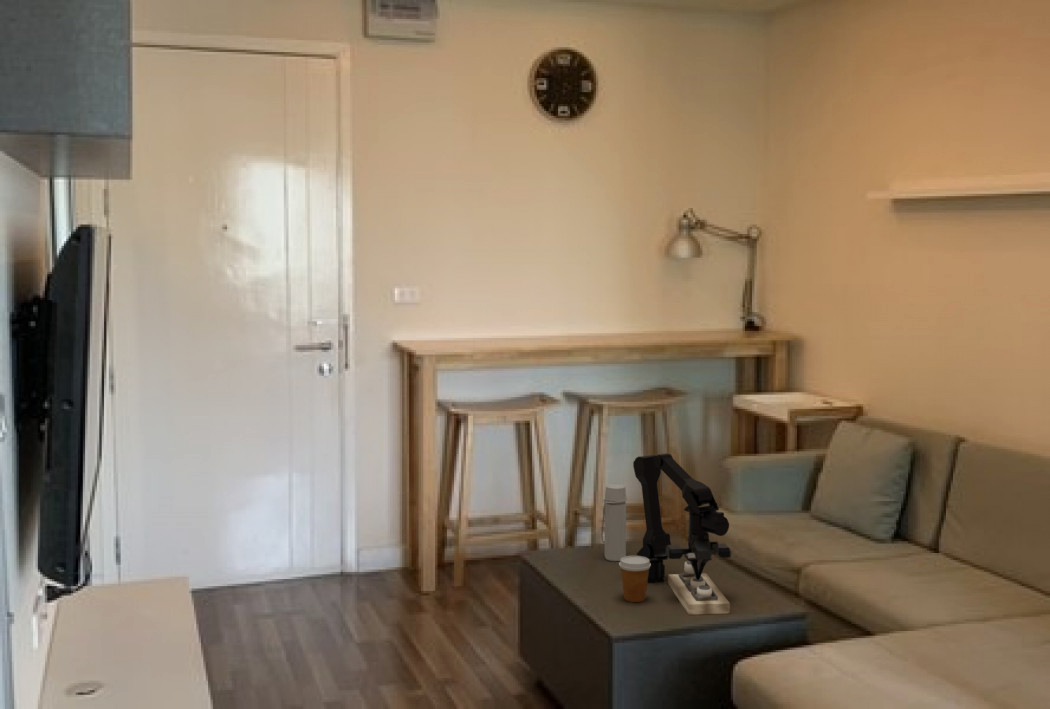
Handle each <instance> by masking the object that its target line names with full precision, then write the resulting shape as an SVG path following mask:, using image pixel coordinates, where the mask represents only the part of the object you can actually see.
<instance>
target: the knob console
mask: <svg viewBox="0 0 1050 709" xmlns="http://www.w3.org/2000/svg"><path fill="white" fill-rule="evenodd" d="M692 578H696V577H695V574H694V573H678V574H677V573H673V574H671V573H669V574H668V575H667V584H668V586H669V587H670V589H671V590H672V591H673V593H674V595H675V597H676V598H677V599H678V600H679V603H680V604H681V605H682V607H683V608H684V610H685V612H686V613H687V615H689V616H690V615H694V616H695V615H720V614H721V615H723V614H725V615H726V614H730V612H731V611H730V610H731V604H730V602H729V600H728V599H727V598H726V597H725V595H724V594H723V593H722V592H721V590H720V589H719V588H718V587H717V585H716V584H715V583H714V582H713V580H712V579H711V577H709V575H708V574H707V573H703V572H702V574H701V576H700V578H703V579H705V586H709V587H711V588H712V597H697V588H691V587H690V580H691V579H692Z"/></svg>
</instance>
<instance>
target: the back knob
mask: <svg viewBox="0 0 1050 709" xmlns="http://www.w3.org/2000/svg"><path fill="white" fill-rule="evenodd" d="M697 565H698V563H697ZM684 572H685V573H686V574H692V573H694V571H693V568H692V565H691V563H690V561H688V560H687V561H684Z"/></svg>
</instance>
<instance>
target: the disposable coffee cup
mask: <svg viewBox="0 0 1050 709" xmlns="http://www.w3.org/2000/svg"><path fill="white" fill-rule="evenodd" d="M618 565H619V567H620V575H621V583H622V592H623V600H625V601H627V602H631V603H641V602H643V601H645V600H646V595H647V588H648V587H647V586H648V582H647V581H648V573H649V568H650V566H651V563H650V561H649V559H648V558H646V557H642V556H637V555H626V556H625V557H622V558H621V560H620V561H618Z"/></svg>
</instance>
